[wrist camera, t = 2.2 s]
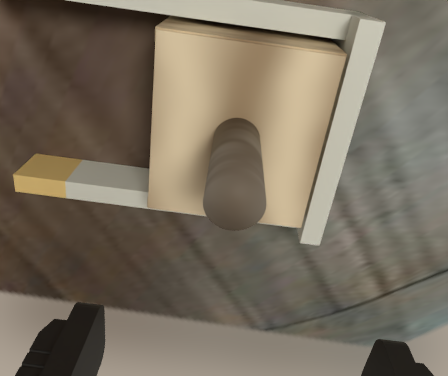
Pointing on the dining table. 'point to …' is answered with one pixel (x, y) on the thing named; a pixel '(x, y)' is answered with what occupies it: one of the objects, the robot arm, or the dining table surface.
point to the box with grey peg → (238, 120)
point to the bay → (246, 16)
